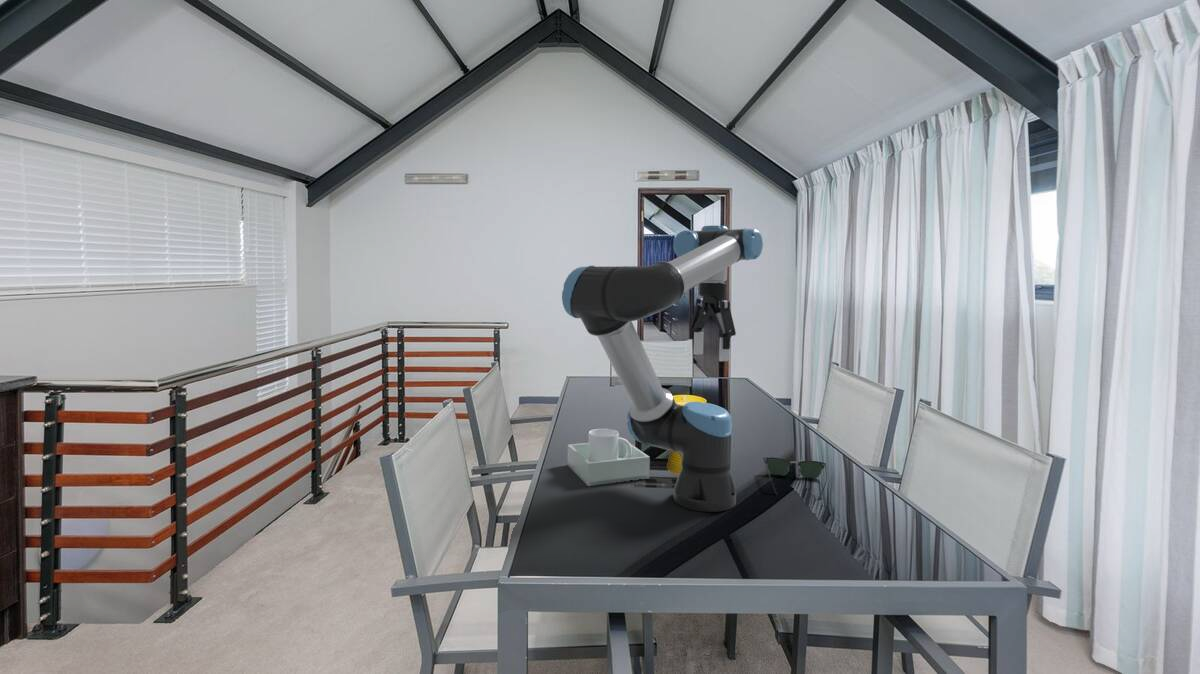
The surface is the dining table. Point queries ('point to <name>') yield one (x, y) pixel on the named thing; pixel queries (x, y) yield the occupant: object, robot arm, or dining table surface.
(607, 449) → the mug
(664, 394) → the robot arm
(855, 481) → the dining table surface
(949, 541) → the dining table surface
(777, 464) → the sunglasses
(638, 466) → the bin
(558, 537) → the dining table surface
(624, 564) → the dining table surface
